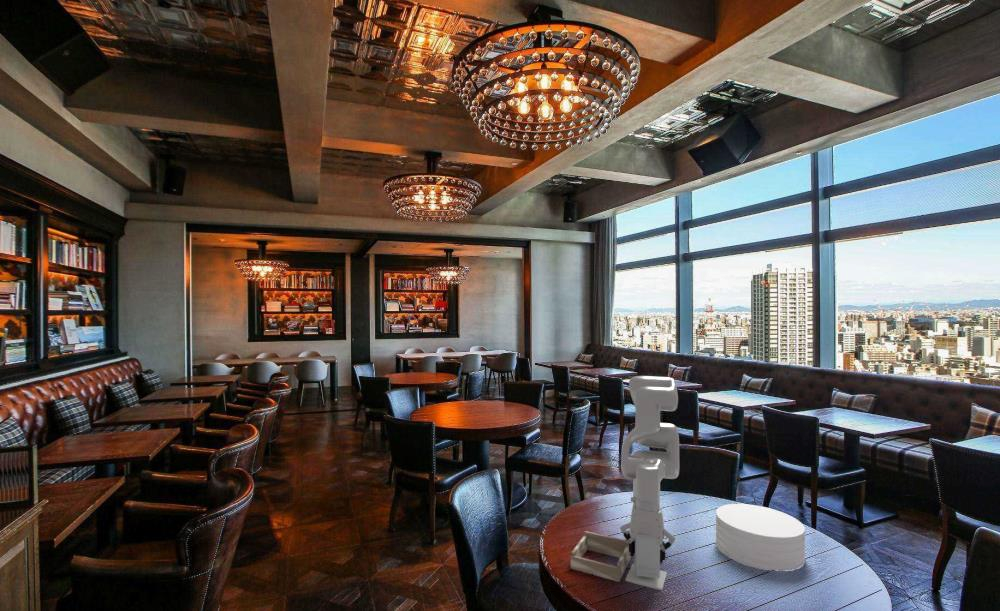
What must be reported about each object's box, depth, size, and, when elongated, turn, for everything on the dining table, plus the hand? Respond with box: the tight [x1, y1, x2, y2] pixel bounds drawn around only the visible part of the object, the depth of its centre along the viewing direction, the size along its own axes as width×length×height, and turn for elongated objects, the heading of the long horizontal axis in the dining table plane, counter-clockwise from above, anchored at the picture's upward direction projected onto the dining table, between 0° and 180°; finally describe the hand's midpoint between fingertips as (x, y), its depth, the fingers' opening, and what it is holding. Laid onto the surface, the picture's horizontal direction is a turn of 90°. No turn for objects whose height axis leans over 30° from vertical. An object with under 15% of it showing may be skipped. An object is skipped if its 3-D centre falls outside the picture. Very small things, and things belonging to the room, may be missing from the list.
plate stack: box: [715, 503, 806, 571], centre depth 172 cm, size 28×28×12 cm
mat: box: [625, 562, 668, 591], centre depth 153 cm, size 11×11×1 cm
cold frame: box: [570, 530, 632, 583], centre depth 161 cm, size 16×16×6 cm
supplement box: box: [633, 534, 661, 578], centre depth 153 cm, size 7×7×13 cm
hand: (646, 558), depth 153 cm, fingers closed on supplement box, 8 cm apart
